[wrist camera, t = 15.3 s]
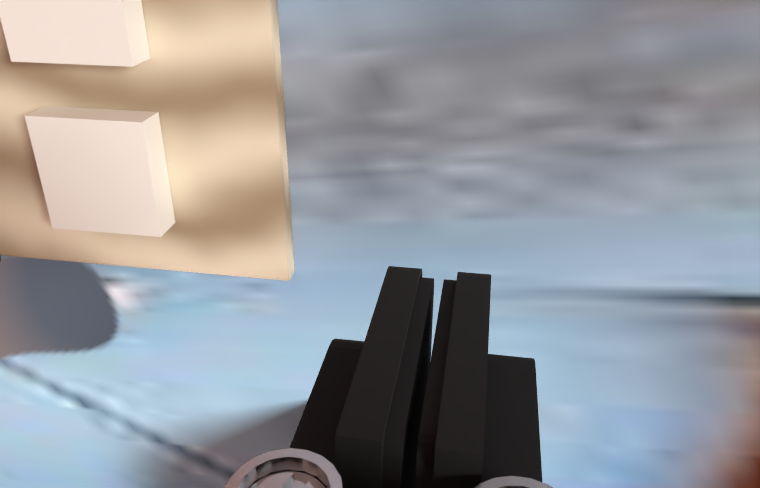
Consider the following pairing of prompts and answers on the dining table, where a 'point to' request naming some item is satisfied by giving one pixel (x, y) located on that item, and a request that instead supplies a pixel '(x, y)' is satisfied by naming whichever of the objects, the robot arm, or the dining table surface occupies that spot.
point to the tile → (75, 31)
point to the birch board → (170, 143)
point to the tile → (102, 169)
